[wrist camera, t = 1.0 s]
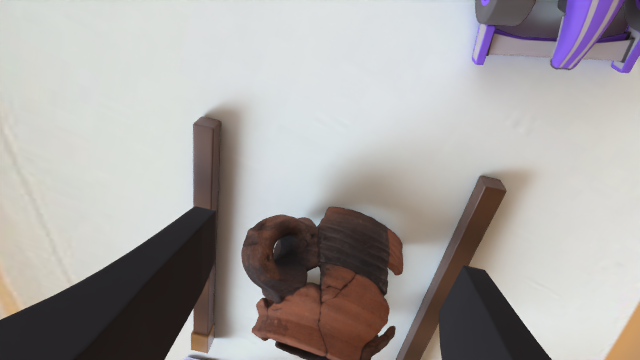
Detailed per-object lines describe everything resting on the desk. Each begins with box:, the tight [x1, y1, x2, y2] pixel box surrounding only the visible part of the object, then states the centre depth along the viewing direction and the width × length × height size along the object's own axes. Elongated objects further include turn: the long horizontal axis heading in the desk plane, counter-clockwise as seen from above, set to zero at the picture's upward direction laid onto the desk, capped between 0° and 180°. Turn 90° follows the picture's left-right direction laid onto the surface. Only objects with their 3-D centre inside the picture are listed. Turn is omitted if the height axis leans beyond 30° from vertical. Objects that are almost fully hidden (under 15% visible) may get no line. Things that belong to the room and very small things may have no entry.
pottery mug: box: [242, 207, 403, 360], centre depth 24 cm, size 12×10×8 cm
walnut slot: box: [191, 117, 506, 360], centre depth 26 cm, size 20×18×1 cm
